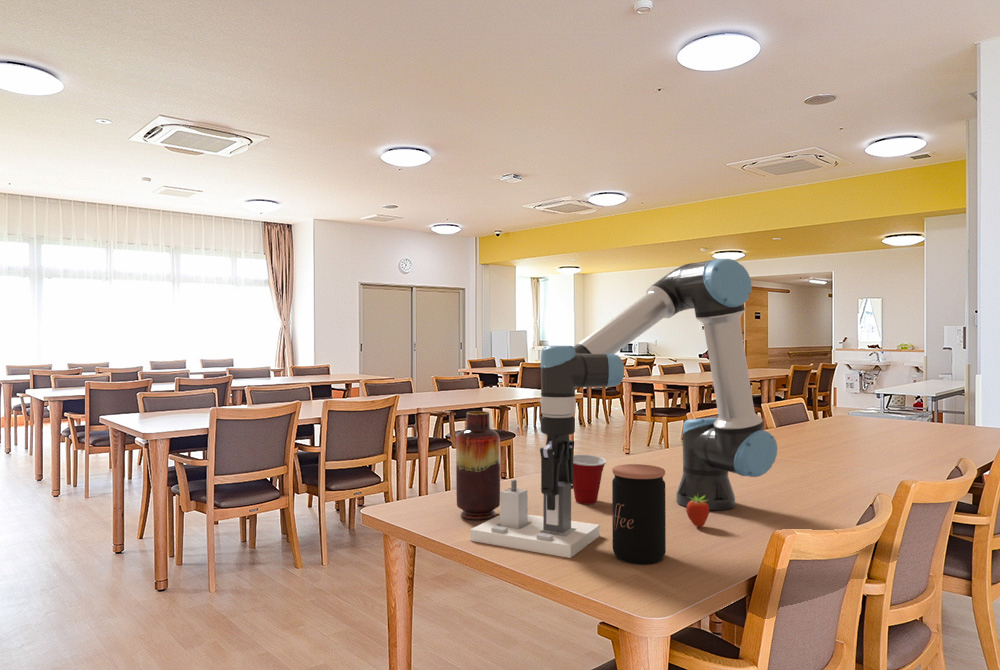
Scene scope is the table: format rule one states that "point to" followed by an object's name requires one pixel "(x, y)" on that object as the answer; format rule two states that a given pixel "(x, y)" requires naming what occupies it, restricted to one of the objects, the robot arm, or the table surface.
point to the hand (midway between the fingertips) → (557, 521)
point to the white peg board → (531, 529)
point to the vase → (478, 468)
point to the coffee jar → (638, 513)
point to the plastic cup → (587, 477)
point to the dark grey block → (560, 509)
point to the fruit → (697, 511)
